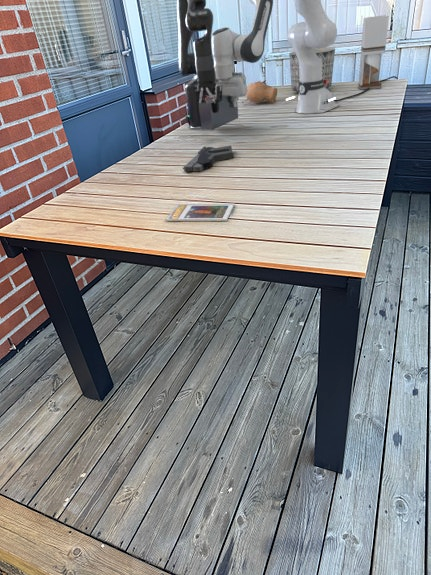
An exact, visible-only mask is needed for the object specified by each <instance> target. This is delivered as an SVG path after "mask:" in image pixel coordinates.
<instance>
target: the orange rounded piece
mask: <svg viewBox="0 0 431 575" xmlns="http://www.w3.org/2000/svg"><path fill="white" fill-rule="evenodd" d="M266 81H267V80H266V79H265V80H263V81H260V80H257V81H256V82H251V83H249V84H248V85H247V95H246V96H245V97H246V100H242V101H241V103H242V104H243V105H244V106H246V104H245V103H244V102H247V101H249V102H251V103H253V104H261V103H264V102H265V101H268V102H269V103H275V102H276V99H277V96H278V88H277V87H272V86H270V85H268V84H267V82H266Z"/></svg>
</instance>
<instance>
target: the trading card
mask: <svg viewBox="0 0 431 575" xmlns="http://www.w3.org/2000/svg"><path fill="white" fill-rule="evenodd" d="M234 207H235V203H176V206H175V207H173V209H172V211H171V212H170V213H169V214H168V216H167V218H166V221H167V222H227V221H228V220H229V217H230V216H231V214H232V211H233V209H234Z"/></svg>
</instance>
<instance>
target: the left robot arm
mask: <svg viewBox="0 0 431 575" xmlns="http://www.w3.org/2000/svg"><path fill="white" fill-rule="evenodd" d="M206 5H207V0H176V14H177V15H176V16H177V32H178V43H177V44H178V48H177V49H178V50H177V66H178V71H179V74H180V75H181V76H182V77H188V76H189V77H190V76H192V78H191V80H190V81H189V82H187V83H185V85H184V91H185V96H186V98H185V99H186V106H187V107H186V111H187V115H185V122H186V123H185V124H188V126H189V128H190V129H191V130H200V129H201V121H200V113H199V105H198V103H201V102H203V101H206V100H207V99H206V97H208V96H210V97H209V99H212V101H213V103H214V104H213V105H214V113H218V111H219V104H218V103H219V102H220V101H222V85H220V86H217V85H216V84H215V69H214V58H213V55H212V34H213V26H214V13H213V11H212V10H211V9H210V8H209V7H206ZM203 31H205V32H204V35H203V36H201V37H199V38H196V39H194V40H193V51H192V52H189V46H190V43H191V40H192V37H193V35H194V34H195V33H196V32H203ZM215 89H216V91H217V94H216V92H215ZM201 130H202V129H201Z"/></svg>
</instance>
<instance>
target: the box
mask: <svg viewBox="0 0 431 575" xmlns="http://www.w3.org/2000/svg"><path fill="white" fill-rule="evenodd" d="M205 100H206V101H203V102H201V103H198V105H199V113H200V121H201V130H203V131H204V130H205V131H214V130H216V129H218V128H220V127H222V126H224V125H226V124H229V123H231V122H233V121H236V120H237V119H239V106H238V105H237V107H235V108H233V107H232V103H234V100H235V99H233V97H230V96H222V101H220V102H219V103H218V104H219V111H218V113H214V105H213V104H214V103H213V101H212V99H211V98H209V99H205Z"/></svg>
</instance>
